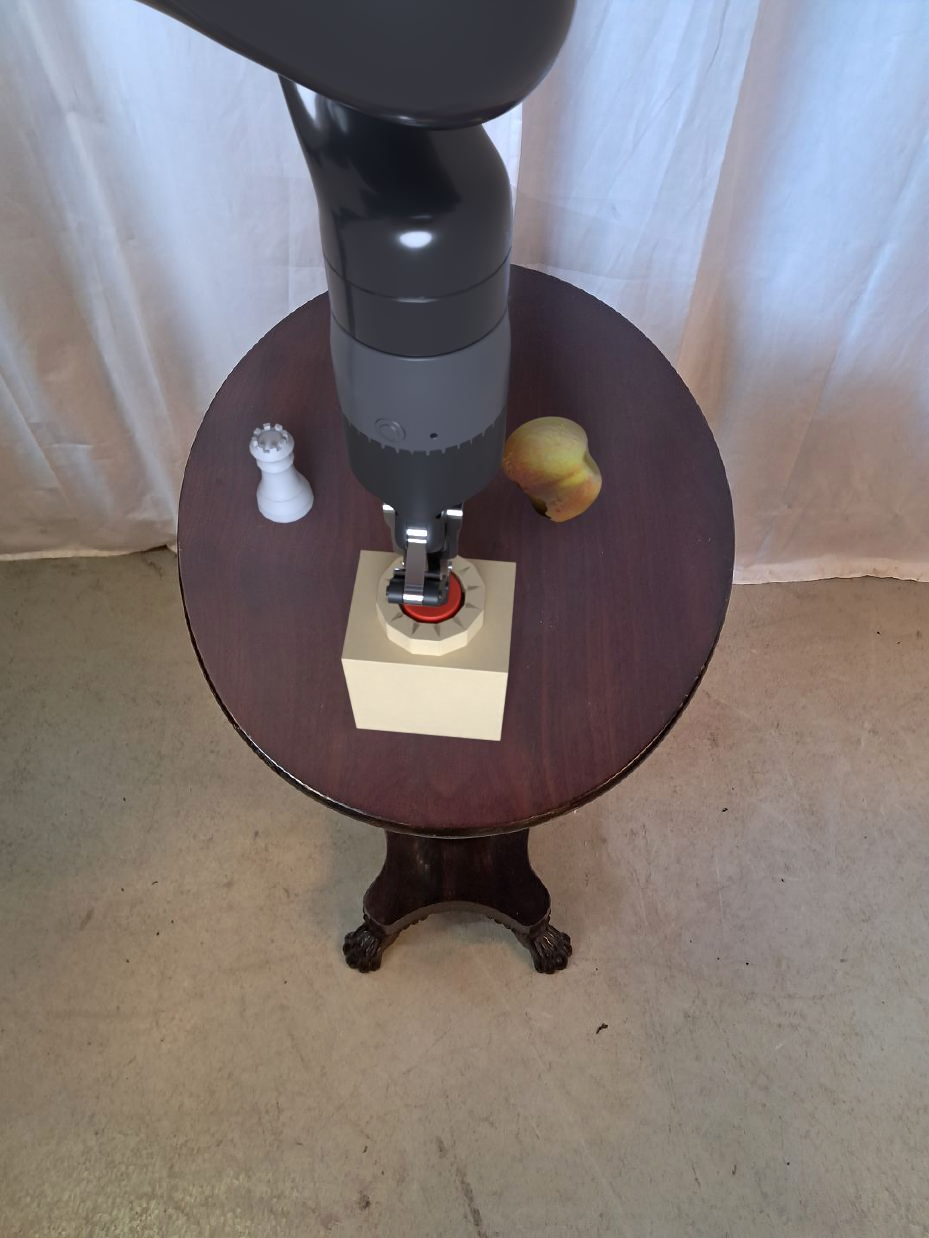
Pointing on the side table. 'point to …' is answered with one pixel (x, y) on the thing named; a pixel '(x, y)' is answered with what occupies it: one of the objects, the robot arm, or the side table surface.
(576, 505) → the fruit
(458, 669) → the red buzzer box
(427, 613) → the red push button
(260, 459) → the rook chess piece
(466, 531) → the side table surface
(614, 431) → the side table surface
